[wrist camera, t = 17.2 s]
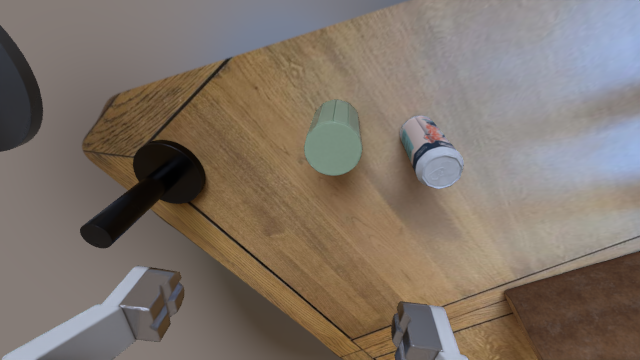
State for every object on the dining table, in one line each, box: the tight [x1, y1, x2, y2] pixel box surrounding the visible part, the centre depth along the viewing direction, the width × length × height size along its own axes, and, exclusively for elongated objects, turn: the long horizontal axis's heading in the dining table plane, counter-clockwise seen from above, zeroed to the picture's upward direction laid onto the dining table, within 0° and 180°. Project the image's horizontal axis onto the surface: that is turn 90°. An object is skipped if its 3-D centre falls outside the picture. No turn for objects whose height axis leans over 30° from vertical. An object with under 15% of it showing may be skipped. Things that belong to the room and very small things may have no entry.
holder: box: [80, 140, 205, 248], centre depth 39 cm, size 11×11×16 cm
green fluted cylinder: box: [304, 99, 362, 176], centre depth 35 cm, size 6×6×10 cm
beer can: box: [400, 116, 464, 189], centre depth 33 cm, size 5×5×12 cm
